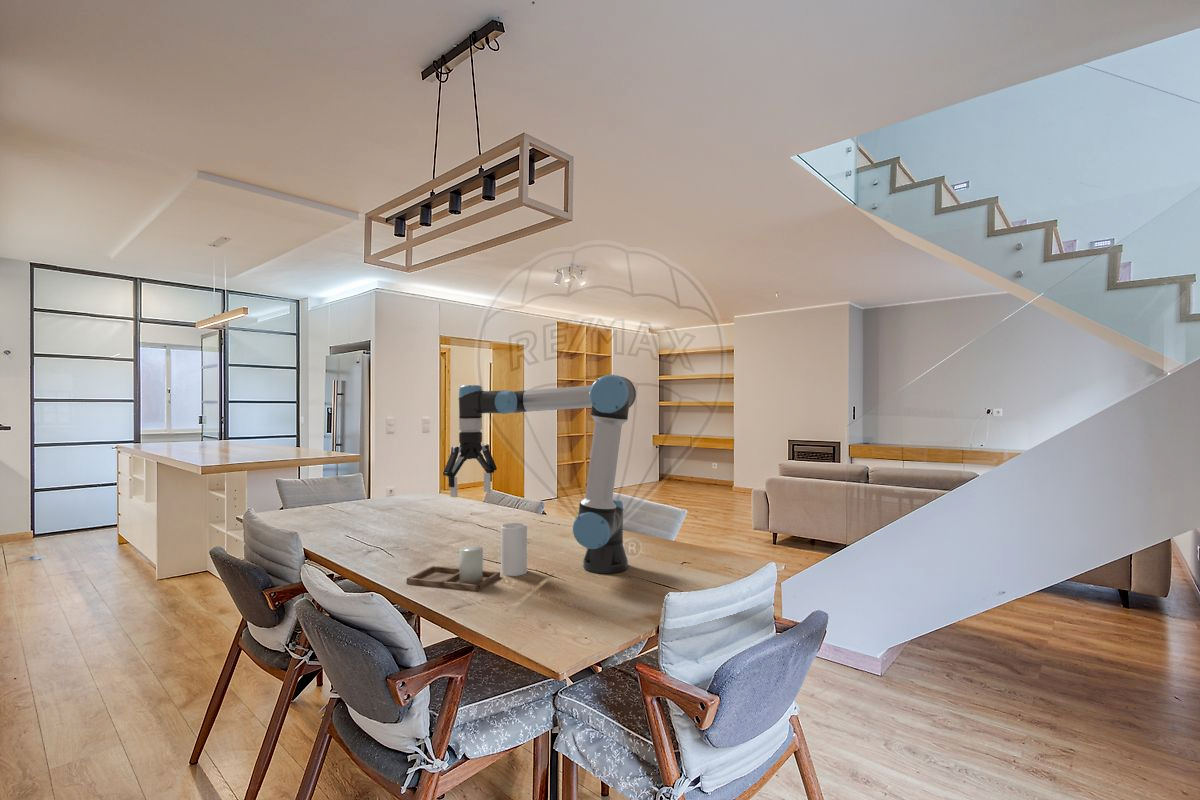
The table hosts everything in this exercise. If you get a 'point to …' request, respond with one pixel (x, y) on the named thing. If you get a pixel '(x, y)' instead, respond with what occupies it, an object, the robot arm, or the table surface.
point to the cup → (513, 549)
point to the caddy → (449, 578)
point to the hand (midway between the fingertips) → (471, 494)
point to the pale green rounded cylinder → (471, 565)
